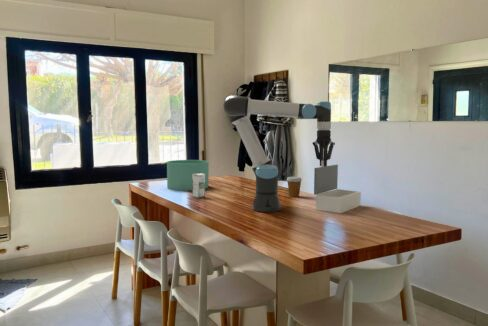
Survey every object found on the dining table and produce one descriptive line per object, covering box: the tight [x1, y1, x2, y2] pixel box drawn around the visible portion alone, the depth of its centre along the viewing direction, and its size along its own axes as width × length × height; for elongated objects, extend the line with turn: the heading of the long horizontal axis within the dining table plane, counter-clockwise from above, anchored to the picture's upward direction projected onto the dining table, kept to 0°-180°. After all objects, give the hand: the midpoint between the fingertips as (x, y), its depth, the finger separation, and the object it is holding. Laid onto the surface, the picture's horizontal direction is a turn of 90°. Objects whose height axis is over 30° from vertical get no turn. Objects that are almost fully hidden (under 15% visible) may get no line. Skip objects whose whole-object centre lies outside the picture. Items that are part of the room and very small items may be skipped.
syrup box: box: [191, 173, 206, 199], centre depth 256 cm, size 6×6×14 cm
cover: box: [313, 164, 339, 195], centre depth 228 cm, size 26×14×1 cm
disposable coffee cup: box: [286, 176, 303, 198], centre depth 260 cm, size 10×10×12 cm
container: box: [166, 159, 210, 191], centre depth 296 cm, size 30×30×19 cm
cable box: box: [315, 188, 362, 214], centre depth 224 cm, size 26×14×8 cm, turn 142°
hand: (323, 172), depth 229 cm, fingers closed
